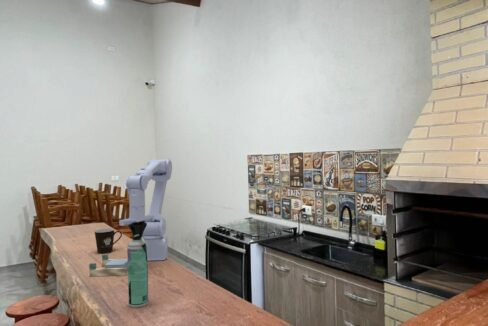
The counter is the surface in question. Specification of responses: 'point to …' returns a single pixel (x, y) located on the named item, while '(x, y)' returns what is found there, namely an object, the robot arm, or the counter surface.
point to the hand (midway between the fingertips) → (137, 241)
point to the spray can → (137, 272)
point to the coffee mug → (105, 240)
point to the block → (117, 263)
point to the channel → (106, 269)
